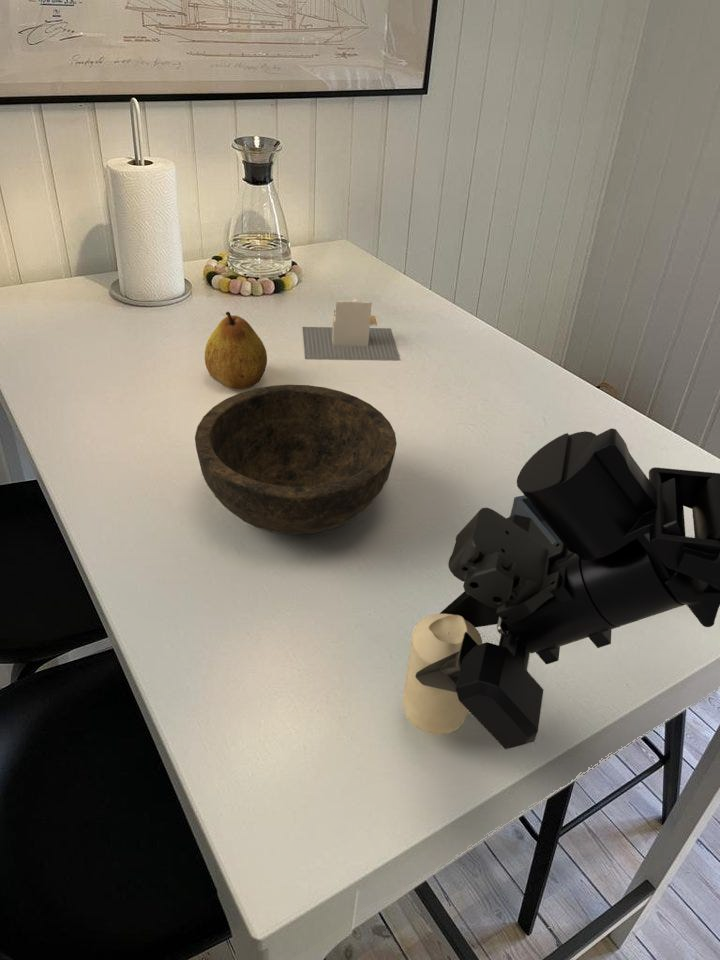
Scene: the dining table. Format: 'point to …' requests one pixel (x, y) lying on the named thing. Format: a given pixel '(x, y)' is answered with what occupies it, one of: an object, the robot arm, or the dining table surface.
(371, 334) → the architectural model
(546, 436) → the dining table surface
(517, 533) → the robot arm
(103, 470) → the dining table surface
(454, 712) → the candle
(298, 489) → the bowl
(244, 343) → the fruit
